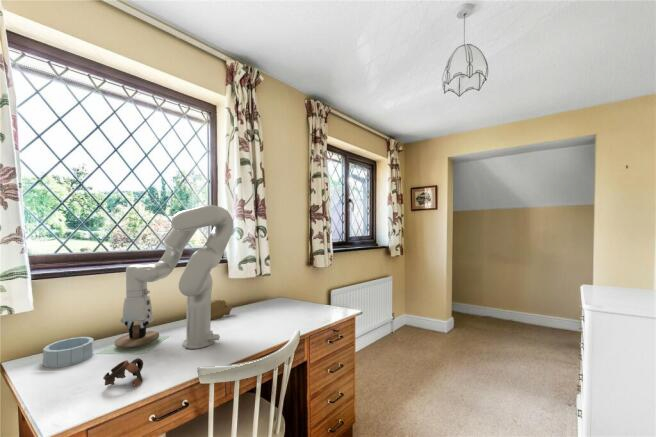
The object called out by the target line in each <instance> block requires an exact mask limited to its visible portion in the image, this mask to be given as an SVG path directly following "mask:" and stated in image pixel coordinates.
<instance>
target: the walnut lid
mask: <svg viewBox="0 0 656 437" xmlns="http://www.w3.org/2000/svg"><path fill="white" fill-rule="evenodd" d="M140 328H141V326H140V324H134V326H132V335H133V338H129V334H126V335H123V336H121V337H119V338H117V339H116V340H115V341H114V344H115V346H117V347H133V346H138V345H143V344H146V343H149V342H152V341H154V340H156V339H157V338H158V337H159V336H160V333H159V332H158V331H155V330H154V331H153V330H146V335H145V336H144V337H142V338H140V337H139V329H140Z"/></svg>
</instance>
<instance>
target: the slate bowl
mask: <svg viewBox="0 0 656 437" xmlns="http://www.w3.org/2000/svg"><path fill="white" fill-rule="evenodd" d="M94 340H95V339H94V338H93V337H90V336H78V337H72V338H71V337H70V338H66V339H61V340H57V341H55V342H51V343H50V344H47V345H46V346H45V347H43V349H42V364H43V367H46V368H48V369H49V368H52V369H55V368H62V367H67V366H72V365H76V364H79V363H82V362H84V361H87V360H89V359H90V358H91V357H92V356H93V355H94V343H95V341H94Z"/></svg>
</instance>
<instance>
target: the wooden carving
mask: <svg viewBox="0 0 656 437" xmlns="http://www.w3.org/2000/svg"><path fill="white" fill-rule="evenodd" d="M232 310H233V307H232V306H230V305H227V302H226V300H221V299H215V300H211V320H217V319H220V318H222V317H224V316H229V315H230V314H231V312H232Z"/></svg>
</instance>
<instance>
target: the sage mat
mask: <svg viewBox="0 0 656 437" xmlns="http://www.w3.org/2000/svg"><path fill="white" fill-rule="evenodd" d="M168 338H170V335H167V336H166V335H159V337H158V338H157V339H156V340H154V341H152V342H149V343H146V344H143V345H138V346H133V347H117V346H115V343H113V344H111V345H110V346H107V347H106V348H104V349H102V350H99V351H98V352H96V353H95V354H96V355H144V354H146V353H148V352H149V351H150V350H152V349H153V348H155V347H157V346H158V345H159V344H161V343H162V342H164V341H165V340H166V339H168Z"/></svg>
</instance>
